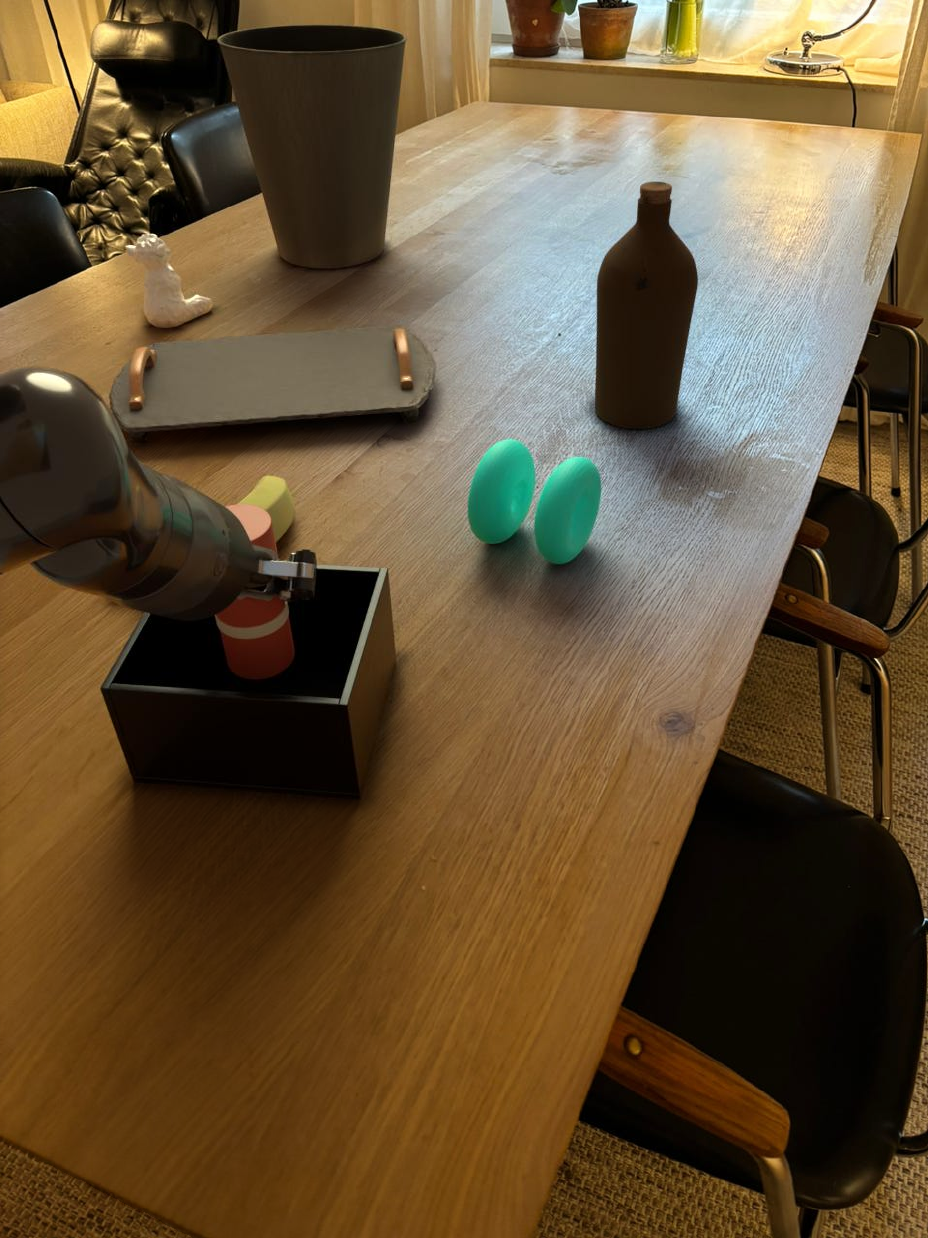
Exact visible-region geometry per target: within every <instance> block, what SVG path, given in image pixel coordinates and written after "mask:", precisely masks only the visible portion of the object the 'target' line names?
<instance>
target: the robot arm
mask: <svg viewBox="0 0 928 1238" xmlns="http://www.w3.org/2000/svg"><path fill="white" fill-rule="evenodd" d="M122 431H123V430H122V429H121V428H120V426H119V424H118V422H117V420H116V419H115V417H114V415H113V413H112V411H111V408H110V407H109V406H108V404H107V402H106V401H105V400H104V398H103V396H102V395H101V394H100V393H99V392H98V391H97V390H96V389H95V387H94V386H92V384H91V383H89V382H88V381H87V380H85V379H84V378H82V377H80V376H78V375H76V374H75V373H72V372H69V371H67V370H64V369H59V368H55V367H49V366H48V367H47V366H24V367H18V368H15V369H11V370H8V371H5V372H2V373H0V576H2V575H4V574H6V573H9V572H11V571H14V570H17V569H19V568H21V567H23V566H26V565H30V566H31V567H32V568H33V569H34V570H35V571H36V572H37V573H39V574H40V575H42V576H43V577H45V578H46V579H48V580H49V581H52V582H53V583H55V584H57V585H59V586H62V587H65V588H68V589H71V590H74V591H77V592H81V593H86V594H88V595H89V594H90V595H92V596H98V597H101V598H105V599H106V600H108V601H110V602H112V603H114V604H115V605H118V606H121V607H124V608H127V609H130V610H133V611H137V612H142V613H144V612H146V613H150V614H154V615H159V616H163V617H167V618H171V619H176V620H182V621H196V620H202V619H206V618H209V617H212V616H214V615H216V614H218V613H220V612H221V611H223V610H224V609H226V608H227V607H228V606H229V605H231V604H232V603H233V602H234V601H235V600H242V599H247V600H253V601H271V600H272V598H273V597H275V598H278V600H284V601H286V602H298V599H299V598H302V599H301V600H309V599H314V596H315V583H316V570H317V565H318V561H317V554H316V552H314V551H311V549H305V548H304V549H301V550H296V551H295V552H290V553H289V555H288V557H289V558H288V559H280V558H279V557H278V558H277V556H276V553H275V551H274V550H271V549H267V548H264V547H260V546H256V545H253V544H252V543H251V541H250V539H249V536H248V534H247V532H246V530H245V528H244V526H243V525H242V523H241V522H240V520H239V519H238V518H237V517H236V516H235V515H234V514H233V513H232V512H231V511H230V510H229V509H227V508H226V507H225V505H223V504H221V503H219V502H218V501H216V500H215V499H213V498H212V497H210V496H208V495H206V494H205V493H203V492H201V491H200V490H198V489H196V488H194V487H193V486H191V485H190V484H188V483H186V482H185V481H182V480H181V479H179V478H176V477H174V476H171V475H169V474H166V473H163V472H159V471H157V470H155V469H153V468H152V467H150V466H148V465H146V464H144V463H143V462H141V461H140V460H139V459H138V458H137V457H136V455H135V454H134V453H133V451H132V450H131V449H130V447H129V446H128V443H127V441H126V439H125V436H124V433H123V432H122ZM274 577H275V583H274ZM251 588H252V589H251ZM250 589H251V590H250Z"/></svg>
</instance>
